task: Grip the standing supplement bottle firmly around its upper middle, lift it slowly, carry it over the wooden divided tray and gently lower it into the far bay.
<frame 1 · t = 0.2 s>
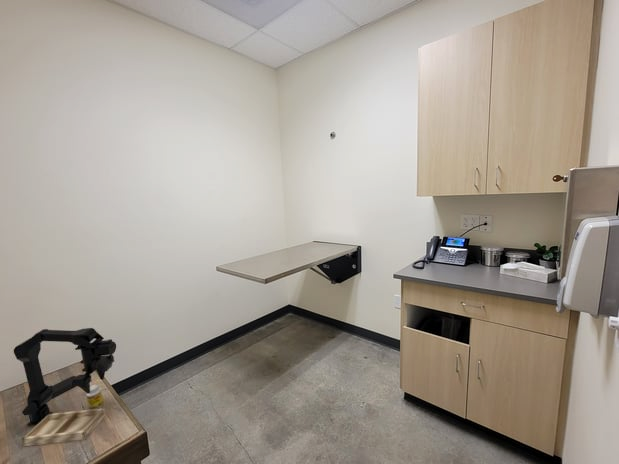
hand: (95, 385, 129), 14 cm above the table, tool pointing down, fingers open, 9 cm apart
carrying case or bag: (62, 389, 149), on the table
wooden divided tray: (67, 429, 122), on the table
supplement bottle: (96, 406, 135), on the table
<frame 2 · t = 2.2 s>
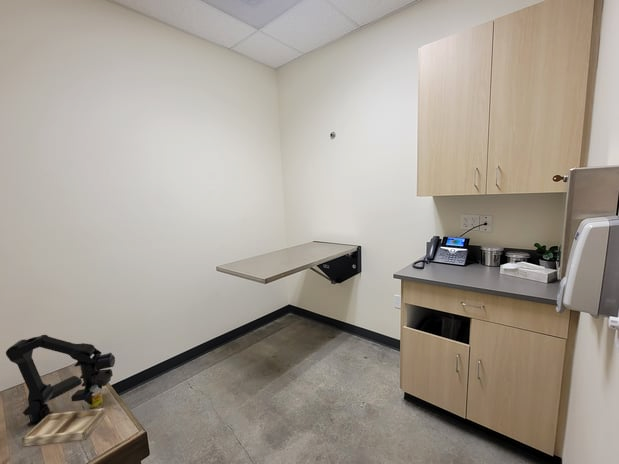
hand: (95, 399, 135), 4 cm above the table, tool pointing down, fingers closed on supplement bottle, 6 cm apart
supplement bottle: (96, 406, 135), on the table, touching gripper
everything else where it was.
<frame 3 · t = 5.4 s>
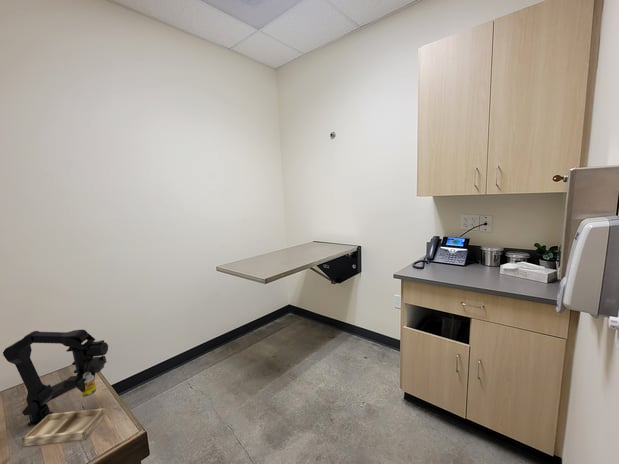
hand: (88, 387, 130), 13 cm above the table, tool pointing down, fingers closed on supplement bottle, 6 cm apart
supplement bottle: (89, 394, 130), point 9 cm above the table, touching gripper
everything else where it was.
when the fingers open (6 cm above the table, at t = 8.7 s): supplement bottle drops 1 cm, resting on wooden divided tray.
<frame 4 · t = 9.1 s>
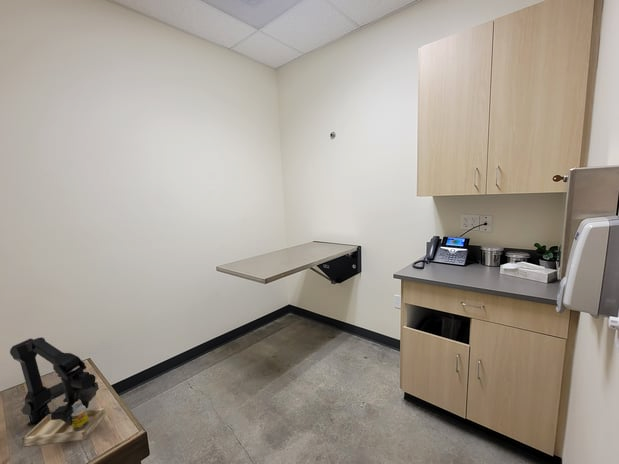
hand: (78, 416, 121), 6 cm above the table, tool pointing down, fingers open, 9 cm apart
supplement bottle: (81, 426, 122), point 1 cm above the table, touching wooden divided tray
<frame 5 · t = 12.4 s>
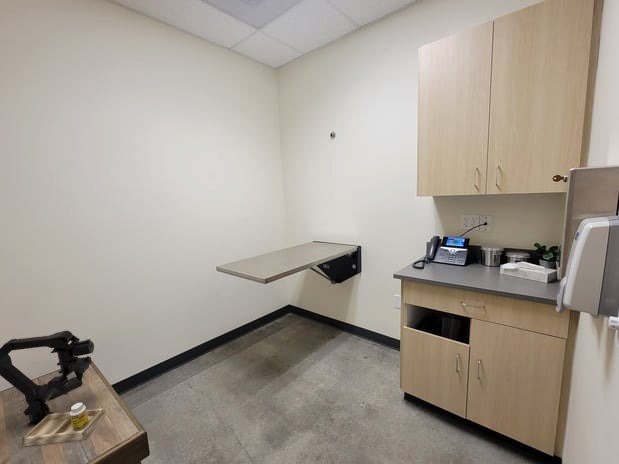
hand: (73, 387, 132), 12 cm above the table, tool pointing down, fingers open, 9 cm apart
at the end: supplement bottle 0.0 cm from the target spot on the wooden divided tray, point 0.8 cm above the wooden divided tray's base; supplement bottle tilted 0°; the gripper is holding nothing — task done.
